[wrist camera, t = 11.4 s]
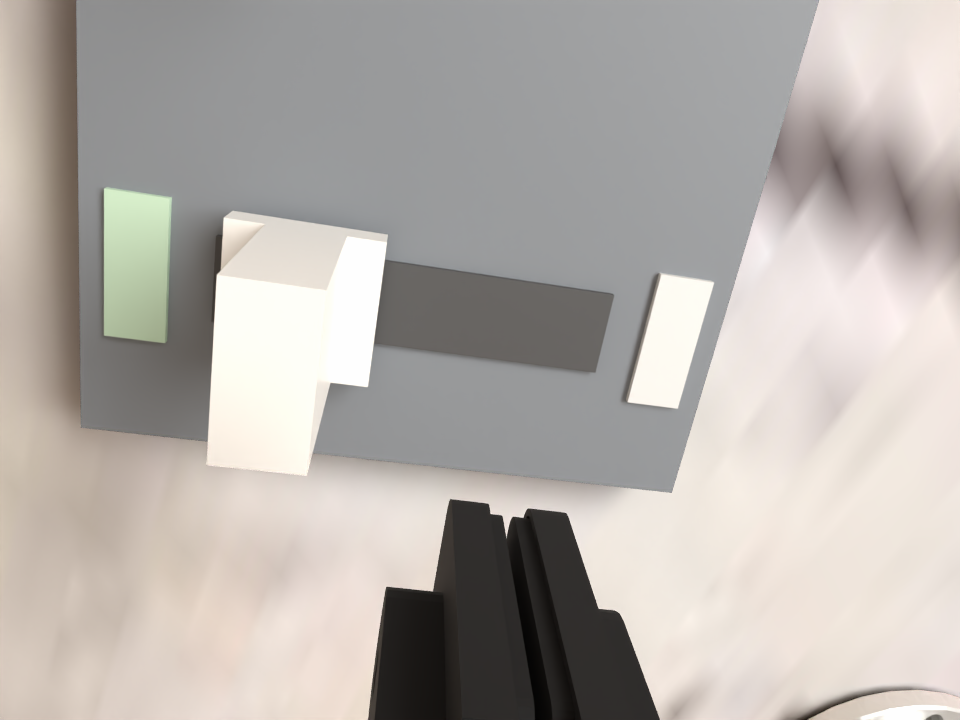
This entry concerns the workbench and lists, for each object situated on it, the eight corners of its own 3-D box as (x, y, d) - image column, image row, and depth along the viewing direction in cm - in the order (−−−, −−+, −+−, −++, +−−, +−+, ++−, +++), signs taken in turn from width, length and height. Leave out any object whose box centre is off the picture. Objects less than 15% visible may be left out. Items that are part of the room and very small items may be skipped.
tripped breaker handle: (369, 373, 21) (355, 481, 16) (224, 354, 21) (155, 459, 15) (387, 234, 20) (380, 297, 14) (232, 210, 19) (160, 266, 14)
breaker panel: (652, 462, 26) (673, 496, 24) (107, 399, 23) (77, 430, 21) (905, -424, 18) (970, -488, 16) (109, -671, 15) (63, -787, 13)
